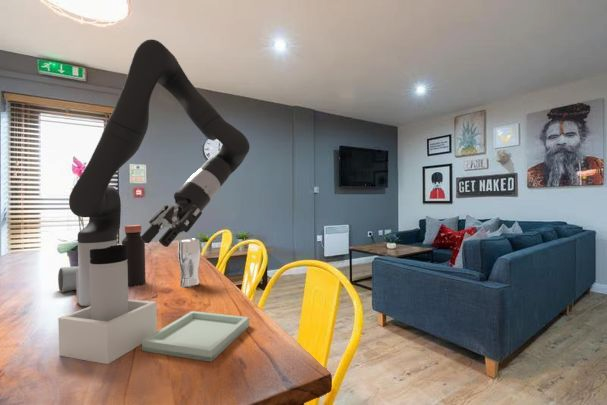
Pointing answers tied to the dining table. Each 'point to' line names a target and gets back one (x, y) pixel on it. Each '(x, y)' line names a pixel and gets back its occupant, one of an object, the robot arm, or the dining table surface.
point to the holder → (106, 332)
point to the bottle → (135, 255)
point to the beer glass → (189, 261)
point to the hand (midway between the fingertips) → (152, 242)
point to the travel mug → (108, 282)
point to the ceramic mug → (67, 278)
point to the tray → (197, 335)
